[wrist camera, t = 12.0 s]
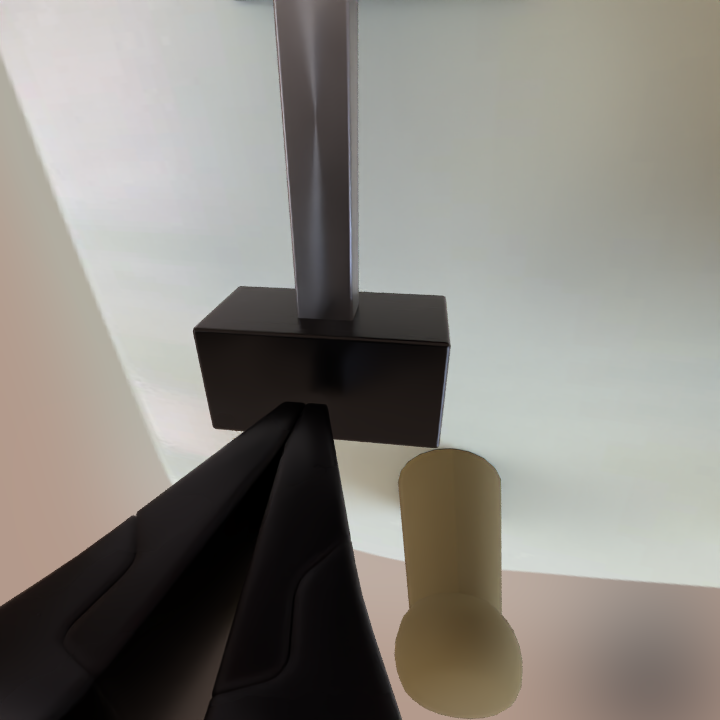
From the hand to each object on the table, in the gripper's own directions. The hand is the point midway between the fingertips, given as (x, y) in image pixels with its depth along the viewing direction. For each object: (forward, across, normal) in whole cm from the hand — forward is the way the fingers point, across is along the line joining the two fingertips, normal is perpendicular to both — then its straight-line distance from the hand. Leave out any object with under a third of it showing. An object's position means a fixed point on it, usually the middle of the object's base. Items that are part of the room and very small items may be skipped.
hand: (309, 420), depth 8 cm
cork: (+12, -5, +15) cm, 20 cm away
